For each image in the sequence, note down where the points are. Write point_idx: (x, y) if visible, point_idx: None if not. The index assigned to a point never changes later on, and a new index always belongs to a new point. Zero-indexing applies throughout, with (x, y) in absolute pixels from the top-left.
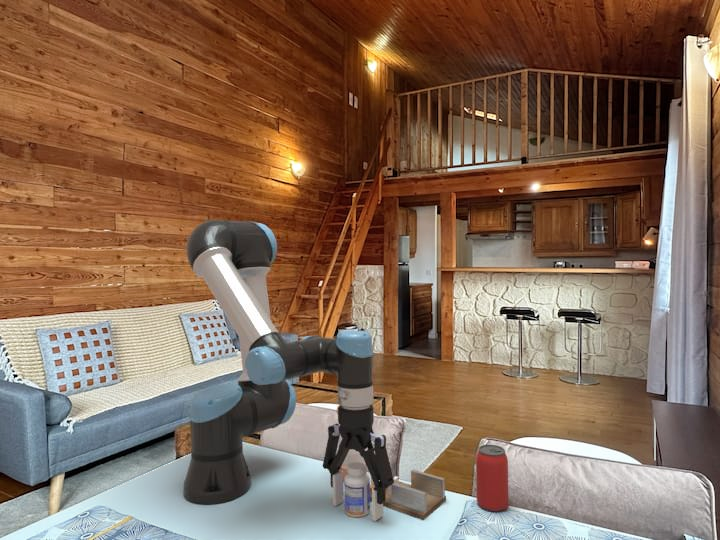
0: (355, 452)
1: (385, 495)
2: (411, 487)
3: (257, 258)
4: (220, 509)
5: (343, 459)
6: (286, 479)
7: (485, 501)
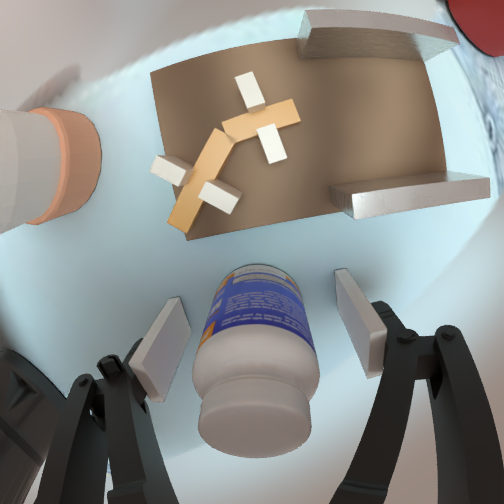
0: (12, 191)
1: (394, 313)
2: (302, 58)
3: None
4: None
5: (138, 424)
6: (22, 308)
7: (501, 52)
